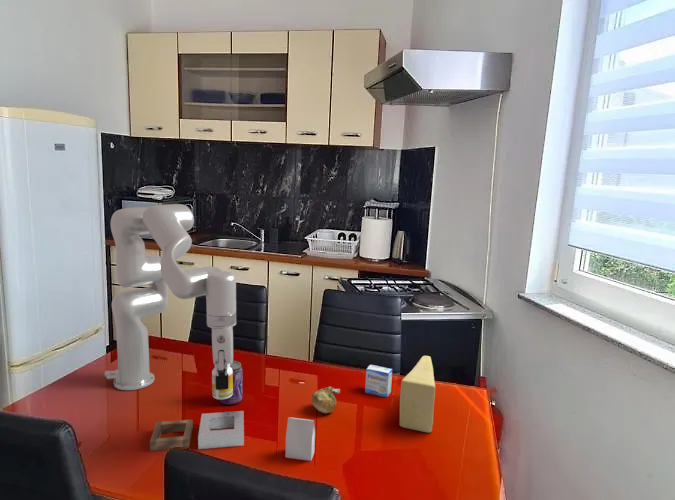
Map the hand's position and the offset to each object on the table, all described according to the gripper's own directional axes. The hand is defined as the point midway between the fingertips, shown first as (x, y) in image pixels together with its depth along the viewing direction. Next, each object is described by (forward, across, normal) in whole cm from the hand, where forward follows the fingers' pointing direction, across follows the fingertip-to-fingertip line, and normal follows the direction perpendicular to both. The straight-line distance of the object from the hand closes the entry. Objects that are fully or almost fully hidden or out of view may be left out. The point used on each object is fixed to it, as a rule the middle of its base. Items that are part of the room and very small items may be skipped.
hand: (222, 383), depth 124 cm
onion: (+16, +9, -30) cm, 35 cm away
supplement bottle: (+4, 0, 0) cm, 4 cm away
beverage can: (+15, +19, -2) cm, 25 cm away
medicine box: (+16, +18, -50) cm, 55 cm away
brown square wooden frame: (+15, 0, +13) cm, 20 cm away
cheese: (+16, +4, -59) cm, 61 cm away
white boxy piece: (+16, -12, -20) cm, 28 cm away
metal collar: (+15, 0, 0) cm, 15 cm away
